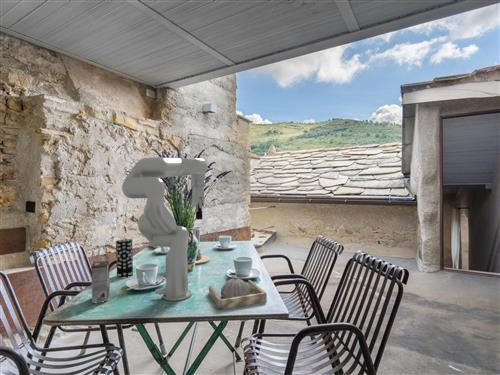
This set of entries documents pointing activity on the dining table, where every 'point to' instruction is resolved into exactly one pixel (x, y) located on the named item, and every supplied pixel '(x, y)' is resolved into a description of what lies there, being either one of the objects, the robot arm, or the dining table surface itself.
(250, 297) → the box
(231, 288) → the sea urchin shell
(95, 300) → the coffee box
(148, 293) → the dining table surface
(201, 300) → the dining table surface
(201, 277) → the dining table surface
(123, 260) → the white-spotted black cylinder
